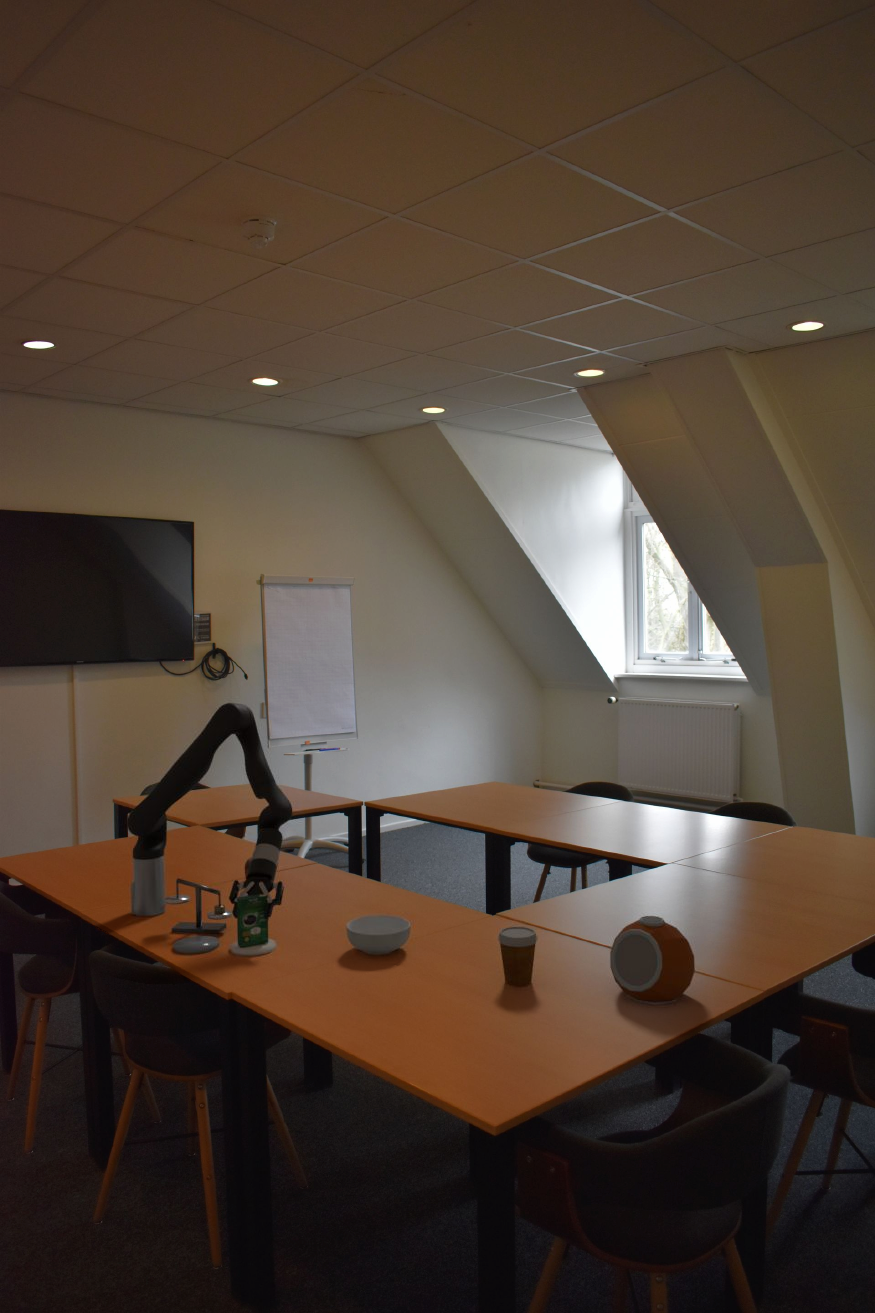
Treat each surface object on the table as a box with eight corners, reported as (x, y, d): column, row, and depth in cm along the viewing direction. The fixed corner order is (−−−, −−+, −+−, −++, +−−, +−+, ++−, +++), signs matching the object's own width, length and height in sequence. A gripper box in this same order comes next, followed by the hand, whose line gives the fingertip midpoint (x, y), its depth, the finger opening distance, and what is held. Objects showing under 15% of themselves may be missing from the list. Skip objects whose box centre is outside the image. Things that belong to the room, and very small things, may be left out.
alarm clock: (595, 993, 217) (594, 919, 217) (637, 973, 229) (637, 903, 229) (668, 1016, 203) (667, 937, 203) (709, 994, 216) (708, 919, 215)
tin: (252, 886, 316) (251, 861, 316) (243, 885, 317) (242, 860, 316) (268, 874, 331) (268, 850, 330) (260, 874, 331) (259, 850, 331)
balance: (161, 932, 267) (160, 881, 266) (171, 925, 274) (170, 874, 273) (227, 934, 264) (226, 882, 264) (236, 927, 271) (235, 876, 271)
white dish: (223, 955, 247) (223, 951, 247) (239, 940, 259) (239, 937, 259) (267, 957, 245) (267, 953, 245) (281, 942, 257) (281, 938, 257)
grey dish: (166, 953, 249) (165, 949, 249) (184, 938, 261) (184, 935, 261) (209, 955, 248) (209, 951, 248) (225, 940, 259) (225, 936, 259)
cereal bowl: (353, 964, 239) (352, 936, 239) (341, 944, 255) (341, 918, 255) (417, 957, 243) (417, 930, 243) (402, 937, 259) (402, 912, 259)
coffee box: (266, 940, 255) (264, 892, 255) (269, 943, 253) (268, 894, 253) (237, 945, 251) (235, 897, 251) (240, 948, 249) (238, 899, 249)
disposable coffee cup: (513, 971, 232) (512, 923, 231) (545, 980, 226) (545, 930, 225) (490, 983, 224) (489, 933, 224) (523, 992, 218) (522, 941, 218)
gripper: (235, 856, 260) (221, 910, 249) (285, 857, 258) (273, 911, 247) (242, 870, 265) (229, 923, 254) (291, 871, 263) (279, 925, 252)
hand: (250, 917), depth 251 cm, fingers open, 8 cm apart
